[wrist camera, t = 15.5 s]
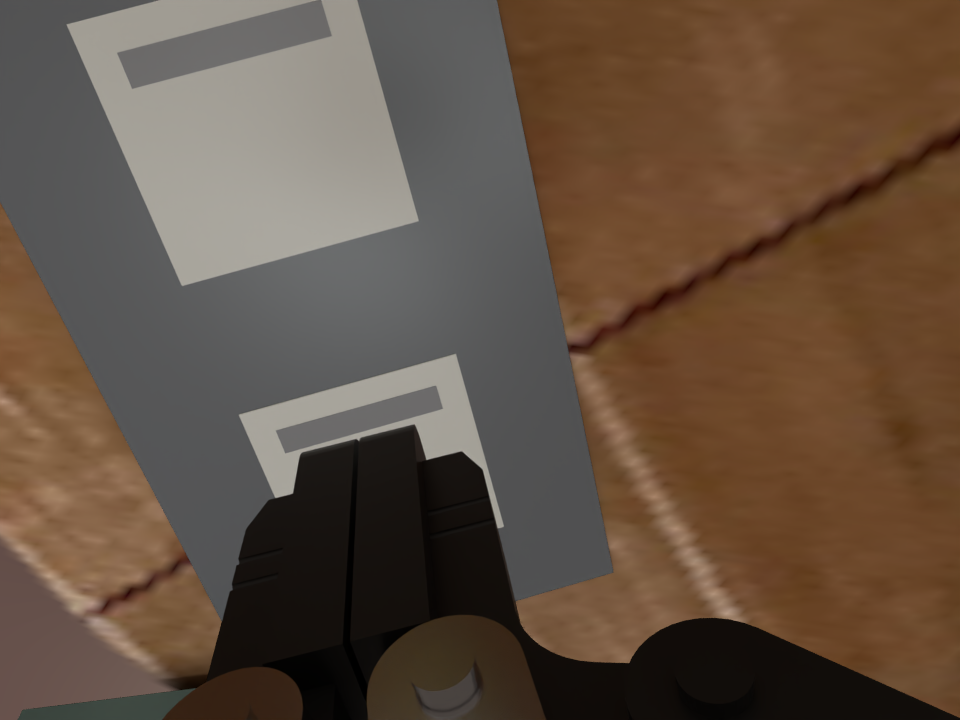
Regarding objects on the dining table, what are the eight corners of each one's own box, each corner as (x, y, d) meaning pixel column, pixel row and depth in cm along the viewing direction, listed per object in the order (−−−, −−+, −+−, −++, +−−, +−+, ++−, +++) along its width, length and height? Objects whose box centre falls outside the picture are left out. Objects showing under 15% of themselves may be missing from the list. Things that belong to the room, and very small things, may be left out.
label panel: (452, -208, 20) (454, -211, 20) (612, 569, 32) (613, 573, 32) (-133, -59, 20) (-140, -60, 19) (252, 674, 32) (251, 679, 32)
